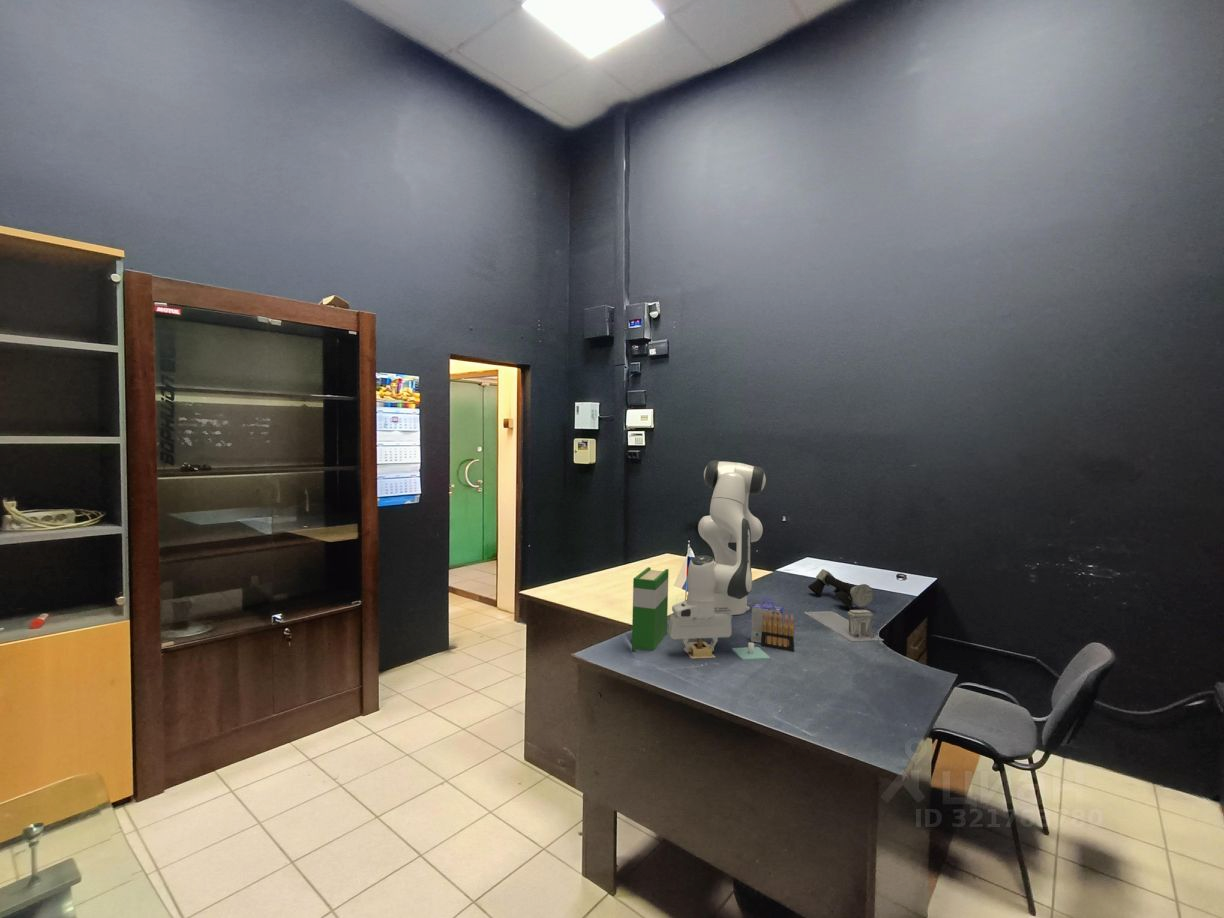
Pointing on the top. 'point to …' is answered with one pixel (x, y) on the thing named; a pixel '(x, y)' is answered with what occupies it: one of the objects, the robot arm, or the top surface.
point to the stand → (699, 644)
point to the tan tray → (700, 649)
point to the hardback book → (649, 609)
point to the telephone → (843, 590)
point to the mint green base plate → (751, 653)
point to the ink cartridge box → (758, 618)
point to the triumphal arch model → (847, 624)
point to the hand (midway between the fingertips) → (699, 651)
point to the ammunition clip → (777, 633)
